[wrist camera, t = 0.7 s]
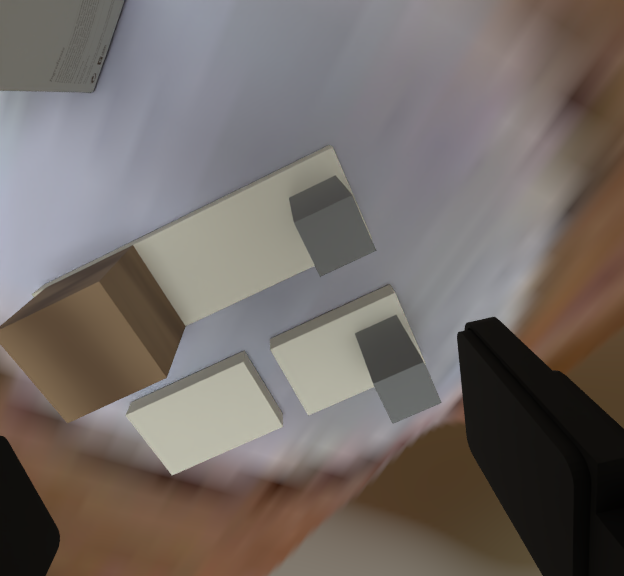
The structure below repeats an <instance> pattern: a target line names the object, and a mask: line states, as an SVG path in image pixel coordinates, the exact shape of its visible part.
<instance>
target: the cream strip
mask: <svg viewBox="0 0 624 576" xmlns="http://www.w3.org/2000/svg"><path fill="white" fill-rule="evenodd" d="M132 245H133V246H134V248H135V249H136V251H137V252H138V254H139V255H140V257H141V258H142V260H143V261H144V263H145V265H146V266H147V268H148V269H149V271H150V272H151V274H152V275H153V277H154V278H155V280H156V281H157V283H158V285H159V286H160V288H161V289H162V291H163V292H164V294H165V295H166V297H167V298H168V300H169V301H170V303H171V305H172V306H173V308H174V309H175V311H176V312H177V314H178V315H179V317H180V318H181V320H182V321H183V323H184V325H185V326H187V325H189V324H191V323H193V322H196V321H198V320H200V319H202V318H204V317H206V316H208V315H211V314H213V313H215V312H217V311H219V310H221V309H223V308H226V307H228V306H230V305H232V304H234V303H236V302H238V301H241V300H243V299H245V298H247V297H249V296H251V295H253V294H255V293H258V292H260V291H262V290H264V289H266V288H268V287H270V286H273V285H275V284H277V283H279V282H281V281H283V280H285V279H288V278H290V277H292V276H294V275H296V274H298V273H300V272H303V271H305V270H307V269H309V268H311V267H313V266H315V267H316V269H317V271H318V273H319V275H320V277H321V276H323V275H325V274H327V273H329V272H331V271H333V270H336V269H338V268H340V267H342V266H344V265H346V264H349V263H351V262H353V261H355V260H357V259H359V258H361V257H364V256H366V255H368V254H370V253H372V252H374V251H376V249H375V246H374V244H373V242H372V237H371V235H370V233H369V230H368V228H367V226H366V223H365V221H364V219H363V216H362V214H361V212H360V209H359V207H358V205H357V202H356V200H355V198H354V195H353V193H352V191H351V188H350V186H349V184H348V181H347V179H346V177H345V174H344V172H343V170H342V167H341V165H340V163H339V160H338V158H337V156H336V153H335V151H334V149H333V147H332V146H331V145H328V146H326V147H324V148H322V149H320V150H318V151H316V152H314V153H312V154H310V155H308V156H306V157H304V158H302V159H300V160H297V161H295V162H293V163H291V164H289V165H287V166H285V167H283V168H281V169H279V170H277V171H275V172H273V173H271V174H269V175H267V176H265V177H263V178H261V179H259V180H257V181H255V182H253V183H251V184H249V185H246V186H244V187H242V188H240V189H238V190H236V191H234V192H232V193H230V194H228V195H226V196H224V197H222V198H220V199H218V200H216V201H214V202H212V203H210V204H208V205H206V206H204V207H202V208H200V209H198V210H195V211H193V212H191V213H189V214H187V215H185V216H183V217H181V218H179V219H177V220H175V221H173V222H171V223H169V224H167V225H165V226H163V227H161V228H159V229H157V230H155V231H153V232H151V233H149V234H147V235H144V236H142V237H140V238H138V239H136V240H134V241H132V242H130V243H128V244H126V245H124V246H122V247H120V248H118V249H116V250H114V251H112V252H110V253H108V254H106V255H104V256H102V257H100V258H98V259H96V260H93V261H91V262H89V263H87V264H85V265H83V266H81V267H79V268H77V269H75V270H73V271H71V272H69V273H67V274H65V275H63V276H61V277H59V278H57V279H55V280H53V281H51V282H49V283H47V284H45V285H43V286H41V287H40V288H39V289H38V290H37V291H35V292H34V293H33V294H32V296H33V297H35V296H36V295H38V294H39V293H40V292H41V291H42V290H44V289H45V288H46V287H48V286H50V285H52V284H54V283H56V282H58V281H60V280H62V279H64V278H66V277H68V276H71V275H73V274H75V273H77V272H79V271H81V270H83V269H85V268H87V267H89V266H91V265H93V264H95V263H97V262H99V261H101V260H103V259H105V258H107V257H109V256H111V255H113V254H115V253H118V252H120V251H122V250H124V249H126V248H128V247H130V246H132Z"/></svg>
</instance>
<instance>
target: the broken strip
mask: <svg viewBox="0 0 624 576" xmlns="http://www.w3.org/2000/svg"><path fill="white" fill-rule="evenodd" d="M270 350H271V352H272V354H273V355H274V357H275V359H276V361H277V362H278V364H279V366H280V367H281V369H282V371H283V373H284V374H285V376H286V378H287V379H288V381H289V383H290V385H291V386H292V388H293V390H294V392H295V393H296V395H297V397H298V398H299V400H300V402H301V404H302V405H303V407H304V409H305V411H306V412H307V414H308V416H309V415H311V414H313V413H316V412H318V411H320V410H322V409H325V408H327V407H329V406H332V405H334V404H336V403H338V402H341V401H343V400H345V399H347V398H350V397H352V396H354V395H357V394H359V393H361V392H363V391H366V390H368V389H370V388H373V387H375V389H376V391H377V393H378V395H379V397H380V399H381V401H382V403H383V405H384V407H385V409H386V411H387V413H388V415H389V417H390V419H391V421H392V423H396V422H398V421H400V420H403V419H405V418H407V417H410V416H412V415H414V414H417V413H419V412H421V411H424V410H426V409H428V408H431V407H433V406H435V405H438V404H440V403H441V400H440V398H439V396H438V393H437V391H436V389H435V386H434V384H433V382H432V379H431V377H430V375H429V372H428V370H427V368H426V365H425V364H426V363H425V361H424V359H423V356H422V354H421V352H420V349H419V347H418V345H417V342H416V340H415V338H414V335H413V333H412V331H411V328H410V326H409V324H408V321H407V319H406V317H405V314H404V312H403V310H402V307H401V305H400V303H399V300H398V298H397V296H396V293H395V292H394V290H393V289H392V287H391V285H390V284H389V285H387V286H385V287H383V288H380V289H378V290H376V291H374V292H372V293H369V294H367V295H365V296H363V297H361V298H359V299H356V300H354V301H352V302H350V303H348V304H345V305H343V306H341V307H339V308H337V309H334V310H332V311H330V312H328V313H326V314H323V315H321V316H319V317H317V318H315V319H313V320H310V321H308V322H306V323H304V324H302V325H299V326H297V327H295V328H293V329H291V330H288V331H286V332H284V333H282V334H280V335H278V336H275V337H273V338H271V339H270ZM126 417H127V418H128V419H129V421H130V422H131V423H132V424H133V426H134V427H135V428H136V430H137V431H138V432H139V433H140V435H141V436H142V437H143V439H144V440H145V441H146V442H147V444H148V445H149V446H150V448H151V449H152V450H153V451H154V453H155V454H156V455H157V457H158V458H159V459H160V460H161V462H162V463H163V464H164V466H165V467H166V468H167V469H168V471H169V472H170V473H171V475H174V474H176V473H178V472H181V471H183V470H185V469H188V468H190V467H192V466H194V465H197V464H199V463H201V462H204V461H206V460H208V459H210V458H213V457H215V456H217V455H220V454H222V453H224V452H226V451H229V450H231V449H233V448H236V447H238V446H240V445H242V444H245V443H247V442H249V441H252V440H254V439H256V438H258V437H261V436H263V435H265V434H268V433H270V432H272V431H274V430H277V429H279V428H281V427H283V414H282V412H281V410H280V409H279V407H278V405H277V404H276V402H275V401H274V399H273V397H272V396H271V394H270V392H269V391H268V389H267V387H266V386H265V384H264V382H263V381H262V379H261V377H260V376H259V374H258V372H257V371H256V369H255V368H254V366H253V364H252V363H251V361H250V359H249V358H248V356H247V354H246V353H245V351H243V352H240V353H238V354H236V355H234V356H232V357H229V358H227V359H225V360H223V361H221V362H218V363H216V364H214V365H212V366H210V367H207V368H205V369H203V370H201V371H199V372H197V373H194V374H192V375H190V376H188V377H186V378H183V379H181V380H179V381H177V382H175V383H172V384H170V385H168V386H166V387H164V388H162V389H159V390H157V391H155V392H153V393H151V394H148V395H146V396H144V397H142V398H140V399H137V400H135V401H133V402H131V404H130V406H129V409H128V411H127V413H126Z"/></svg>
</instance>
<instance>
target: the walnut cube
mask: <svg viewBox="0 0 624 576" xmlns="http://www.w3.org/2000/svg"><path fill="white" fill-rule="evenodd" d="M184 329H185V325H184V323H183V321H182V320H181V318H180V317H179V315H178V314H177V312H176V311H175V309H174V308H173V306H172V305H171V303H170V301H169V300H168V298H167V297H166V295H165V294H164V292H163V291H162V289H161V288H160V286H159V285H158V283H157V281H156V280H155V278H154V277H153V275H152V274H151V272H150V271H149V269H148V268H147V266H146V265H145V263H144V261H143V260H142V258H141V257H140V255H139V254H138V252H137V251H136V249H135V248H134V246H133V245H132V246H130V247H128V248H126V249H124V250H122V251H120V252H118V253H115V254H113V255H111V256H109V257H107V258H105V259H103V260H101V261H99V262H97V263H95V264H93V265H91V266H89V267H87V268H85V269H83V270H81V271H79V272H77V273H75V274H73V275H71V276H68V277H66V278H64V279H62V280H60V281H58V282H56V283H54V284H52V285H50V286H48V287H46V288H45V289H44V290H42V291H41V292H40V293H39V294H38V295H36V296H35V297H34V298H33V299H32V300H31V301H29V302H28V303H27V304H26V305H25V306H24V307H22V308H21V309H20V310H19V311H18V312H16V313H15V314H14V315H13V316H12V317H11V318H9V319H8V320H7V321H6V322H5V323H3V324H2V325H1V326H0V344H1V345H2V347H3V348H4V349H5V350H6V351H7V352H8V354H9V355H10V356H11V357H12V358H13V360H14V361H15V362H16V363H17V364H18V365H19V367H20V368H21V369H22V370H23V371H24V372H25V374H26V375H27V376H28V377H29V378H30V380H31V381H32V382H33V383H34V384H35V385H36V387H37V388H38V389H39V390H40V391H41V393H42V394H43V395H44V396H45V397H46V398H47V400H48V401H49V402H50V403H51V404H52V406H53V407H54V408H55V409H56V410H57V411H58V413H59V414H60V415H61V416H62V417H63V419H64V420H65V421H66V422H67V423H69V422H71V421H73V420H76V419H78V418H80V417H82V416H84V415H86V414H89V413H91V412H93V411H95V410H97V409H100V408H102V407H104V406H106V405H108V404H110V403H113V402H115V401H117V400H119V399H121V398H124V397H126V396H128V395H130V394H132V393H134V392H137V391H139V390H141V389H143V388H145V387H148V386H150V385H152V384H154V383H156V382H158V381H161V380H163V379H165V378H167V375H168V373H169V370H170V367H171V365H172V362H173V359H174V356H175V354H176V351H177V348H178V345H179V343H180V340H181V337H182V335H183V332H184Z"/></svg>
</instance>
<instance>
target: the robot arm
mask: <svg viewBox="0 0 624 576" xmlns="http://www.w3.org/2000/svg"><path fill="white" fill-rule="evenodd" d="M457 342H458V352H459V362H460V373H461V383H462V393H463V404H464V414H465V424H466V434H467V440H468V444H469V447H470V450H471V452H472V454H473V456H474V458H475V459H476V461H477V463H478V465H479V467H480V468H481V470H482V472H483V473H484V475H485V477H486V479H487V480H488V482H489V484H490V486H491V487H492V489H493V491H494V492H495V494H496V496H497V498H498V499H499V501H500V503H501V504H502V506H503V508H504V510H505V511H506V513H507V515H508V516H509V518H510V520H511V522H512V523H513V525H514V527H515V528H516V530H517V532H518V534H519V535H520V537H521V539H522V541H523V542H524V544H525V546H526V547H527V549H528V551H529V553H530V554H531V556H532V558H533V560H534V561H535V563H536V565H537V567H538V568H539V570H540V571H541V573H542V575H543V576H624V429H623V428H622V427H621V426H620V425H619V424H618V423H617V422H616V421H615V420H614V419H612V418H611V417H610V416H609V415H608V414H607V413H606V412H605V411H604V410H602V408H600V407H599V406H598V405H597V404H596V403H595V402H594V401H593V400H592V399H591V398H589V396H587V395H586V394H585V393H584V392H583V391H582V390H581V389H580V388H579V387H578V386H577V385H576V384H574V383H573V382H572V381H571V380H570V379H569V378H568V377H567V376H566V375H564V374H563V373H561V372H560V371H555V370H554V371H552V370H551V369H550V368H549V367H548V366H547V365H546V364H545V363H544V362H543V361H542V360H541V359H540V358H539V357H537V356H536V355H535V354H534V353H533V352H532V351H531V350H530V349H529V348H528V347H527V346H526V345H525V344H524V343H523V342H522V341H521V340H520V339H518V338H517V337H516V336H515V335H514V334H513V333H512V332H511V331H510V330H509V329H508V328H507V327H506V326H505V325H504V324H503V323H502V322H501V321H499V320H498V319H497V318H496V317H491V318H486V319H482V320H477V321H473V322H468V323H466V325H465V331H461V332H458V334H457ZM59 542H60V535H59V530H58V528H57V526H56V524H55V523H54V521H53V519H52V517H51V516H50V514H49V512H48V510H47V509H46V507H45V505H44V503H43V502H42V500H41V498H40V496H39V495H38V493H37V491H36V489H35V488H34V486H33V484H32V482H31V481H30V479H29V477H28V475H27V474H26V472H25V470H24V468H23V466H22V465H21V463H20V461H19V459H18V458H17V456H16V454H15V452H14V451H13V449H12V447H11V445H10V444H9V442H8V440H7V439H6V438H5V437H3V436H0V576H46V574H47V571H48V569H49V567H50V565H51V563H52V561H53V559H54V556H55V554H56V552H57V550H58V547H59Z"/></svg>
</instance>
